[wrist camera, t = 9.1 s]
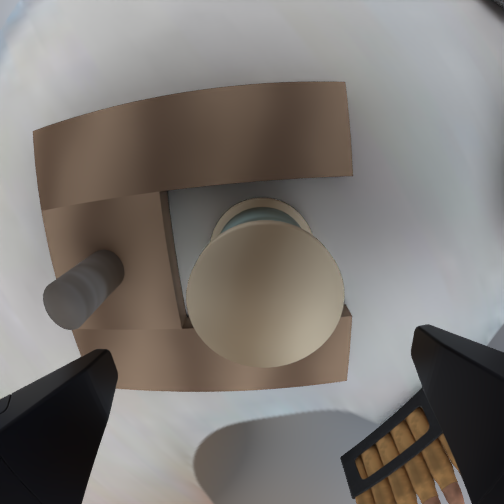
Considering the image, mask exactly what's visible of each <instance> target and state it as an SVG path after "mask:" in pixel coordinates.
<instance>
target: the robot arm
mask: <svg viewBox="0 0 504 504" xmlns="http://www.w3.org/2000/svg"><path fill="white" fill-rule="evenodd" d="M411 356H412V359H413V362H414V365H415V367H416V370H417V373H418V376H419V378H420V381H421V384H422V387H423V390H424V392H425V395H426V397H427V400H428V402H429V404H430V406H431V408H432V410H433V412H434V414H435V417H436V419H437V421H438V423H439V425H440V427H441V430H442V432H443V434H444V436H445V439H446V441H447V443H448V445H449V448H450V450H451V452H452V455H453V457H454V459H455V462H456V464H457V467H458V469H459V471H460V474H461V476H462V479H463V481H464V484H465V487H466V489H467V492H468V494H469V497H470V500H471V503H472V504H504V352H501V351H498V350H496V349H493V348H490V347H488V346H485V345H482V344H480V343H477V342H474V341H472V340H469V339H466V338H464V337H461V336H458V335H456V334H453V333H450V332H448V331H445V330H442V329H440V328H437V327H434V326H432V325H429V324H427V325H422V326H418V327H416V329H415V331H414V337H413V342H412V348H411ZM117 381H118V371H117V368H116V365H115V362H114V360H113V357H112V354H111V352H110V351H109V350H108V349H95V350H93V351H91V352H90V353H88V354H86V355H84V356H82V357H80V358H78V359H76V360H75V361H73V362H71V363H69V364H67V365H65V366H63V367H61V368H59V369H57V370H56V371H54V372H52V373H50V374H48V375H46V376H44V377H42V378H40V379H38V380H37V381H35V382H33V383H31V384H29V385H27V386H25V387H23V388H21V389H19V390H17V391H16V392H14V393H12V395H11V394H10V395H8V396H6V397H4V398H2V399H0V504H82V501H83V497H84V494H85V490H86V487H87V483H88V480H89V477H90V473H91V470H92V467H93V464H94V461H95V458H96V454H97V451H98V448H99V445H100V442H101V439H102V436H103V433H104V430H105V427H106V425H107V421H108V418H109V414H110V410H111V406H112V402H113V397H114V393H115V389H116V385H117Z"/></svg>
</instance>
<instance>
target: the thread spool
mask: <svg viewBox="0 0 504 504" xmlns="http://www.w3.org/2000/svg"><path fill="white" fill-rule="evenodd" d="M186 303H187V310H188V314H189V318H190V320H191V323H192V325H193V327H194V329H195V331H196V332H197V334H198V335H199V337H200V338H201V339H202V340H203V342H204V343H205V344H206V345H207V346H208V347H209V348H211V349H212V350H213V351H214V352H216V353H217V354H219V355H220V356H222V357H224V358H225V359H228V360H230V361H232V362H235V363H238V364H241V365H245V366H250V367H259V368H270V367H278V366H283V365H287V364H291V363H293V362H296V361H299V360H301V359H303V358H305V357H307V356H308V355H310V354H311V353H313V352H314V351H316V350H317V349H318V348H319V347H321V346H322V345H323V344H324V343H325V342H326V340H327V339H328V338H329V337H330V336H331V334H332V333H333V331H334V330H335V328H336V326H337V324H338V322H339V320H340V317H341V314H342V310H343V306H344V284H343V279H342V276H341V273H340V270H339V268H338V266H337V264H336V262H335V260H334V259H333V257H332V256H331V255H330V253H329V252H328V251H327V249H326V248H325V247H324V245H323V244H322V243H321V242H320V241H319V240H318V239H317V238H315V237H314V236H313V235H312V232H311V230H310V228H309V226H308V224H307V222H306V221H305V220H304V218H303V217H302V216H301V215H300V214H299V213H298V212H297V211H296V210H295V209H294V208H293V207H291V206H290V205H288V204H286V203H285V202H282V201H280V200H276V199H273V198H265V197H262V198H251V199H248V200H244V201H242V202H240V203H238V204H236V205H234V206H233V207H231V208H230V209H229V210H228V211H226V213H225V214H224V215H223V216H222V217H221V218H220V220H219V221H218V223H217V225H216V227H215V229H214V231H213V233H212V236H211V240H210V243H209V244H208V245H207V246H206V248H205V249H204V250H203V252H202V253H201V255H200V256H199V258H198V260H197V262H196V263H195V265H194V267H193V269H192V271H191V274H190V277H189V280H188V285H187V290H186Z"/></svg>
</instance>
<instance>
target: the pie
mask: <svg viewBox="0 0 504 504" xmlns="http://www.w3.org/2000/svg"><path fill="white" fill-rule="evenodd" d="M493 1H494V2H496V3H497V4H498V5H500V6H501V7H502V8H503V9H504V0H493Z"/></svg>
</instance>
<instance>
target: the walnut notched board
mask: <svg viewBox="0 0 504 504" xmlns="http://www.w3.org/2000/svg"><path fill="white" fill-rule="evenodd" d="M33 143H34V155H35V166H36V175H37V183H38V191H39V198H40V204H41V210H42V216H43V222H44V227H45V232H46V237H47V242H48V247H49V251H50V256H51V260H52V264H53V268H54V272H55V276H56V280H55V281H53V282H52V283H50V284H49V285H48V286H47V287H46V289H45V291H44V294H43V301H44V306H45V309H46V311H47V313H48V315H49V316H50V318H51V319H52V320H53V321H54V322H55V323H56V324H57V325H59V326H60V327H62V328H64V329H68V330H72V332H73V335H74V338H75V341H76V343H77V346H78V349H79V351H80V354H81V357H82V356H84V355H86V354H88V353H90V352H91V351H93V350H95V349H108V350H109V351H110V352H111V354H112V357H113V360H114V362H115V365H116V368H117V371H118V381H117V385H116V388H117V389H130V390H148V391H177V392H215V391H245V390H263V389H277V388H289V387H299V386H309V385H318V384H326V383H334V382H341V381H347V373H348V363H349V352H350V339H351V325H352V315H351V313H350V311H349V310H348V308H347V306H346V305H344V306H343V310H342V314H341V317H340V320H339V322H338V324H337V326H336V328H335V330H334V331H333V333H332V334H331V336H330V337H329V338H328V339H327V340H326V342H325V343H324V344H323V345H322V346H321V347H319V348H318V349H317V350H316V351H314V352H313V353H311V354H310V355H308V356H307V357H305V358H303V359H301V360H299V361H296V362H293V363H291V364H287V365H283V366H278V367H270V368H259V367H250V366H245V365H241V364H238V363H235V362H232V361H230V360H228V359H225V358H224V357H222V356H220V355H219V354H217V353H216V352H214V351H213V350H212V349H211V348H209V347H208V346H207V345H206V344H205V343H204V342H203V340H202V339H201V338H200V337H199V335H198V334H197V332H196V331H195V329H194V327H193V325H192V323H191V320H190V318H189V317H187V316H186V311H185V305H184V300H183V294H182V289H181V283H180V277H179V271H178V265H177V259H176V252H175V246H174V239H173V232H172V225H171V218H170V211H169V203H168V195H167V191H168V190H176V189H184V188H193V187H202V186H212V185H222V184H232V183H243V182H255V181H268V180H282V179H298V178H317V177H340V176H353V168H352V150H351V136H350V124H349V113H348V102H347V93H346V84H345V82H281V83H263V84H249V85H238V86H228V87H219V88H211V89H203V90H196V91H189V92H183V93H177V94H171V95H165V96H160V97H155V98H150V99H145V100H140V101H135V102H131V103H127V104H122V105H118V106H114V107H110V108H106V109H102V110H98V111H95V112H91V113H88V114H84V115H81V116H77V117H74V118H71V119H67V120H64V121H61V122H58V123H55V124H52V125H49V126H46V127H43V128H40V129H38V130H35V131H33Z"/></svg>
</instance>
